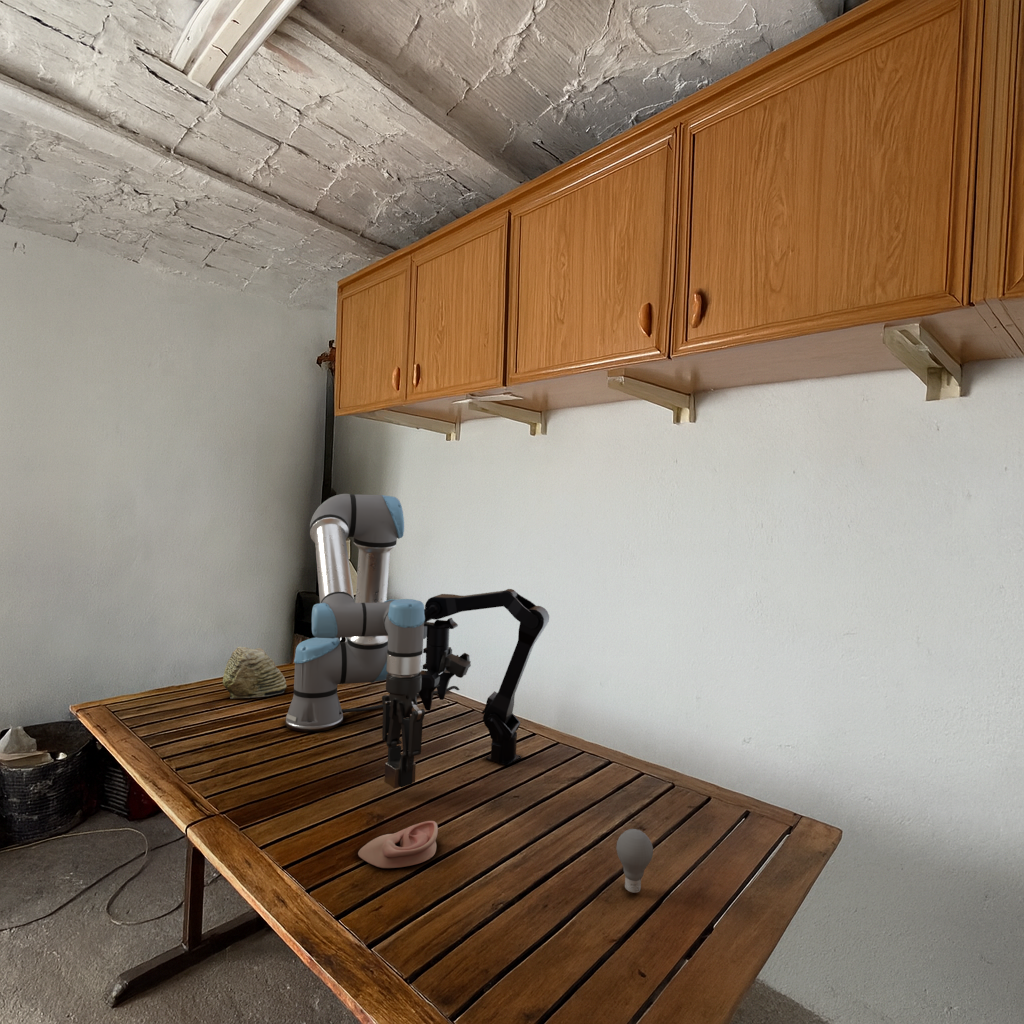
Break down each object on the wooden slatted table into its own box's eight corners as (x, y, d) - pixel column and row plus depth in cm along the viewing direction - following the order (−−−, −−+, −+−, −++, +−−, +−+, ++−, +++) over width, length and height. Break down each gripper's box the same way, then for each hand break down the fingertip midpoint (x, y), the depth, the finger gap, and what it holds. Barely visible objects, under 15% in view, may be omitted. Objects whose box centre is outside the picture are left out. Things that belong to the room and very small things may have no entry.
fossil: (218, 695, 195) (220, 647, 195) (278, 685, 208) (279, 640, 207) (228, 703, 189) (230, 653, 188) (289, 692, 201) (290, 645, 201)
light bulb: (610, 879, 108) (613, 822, 108) (644, 879, 109) (647, 822, 109) (619, 902, 102) (622, 840, 102) (655, 901, 103) (658, 840, 103)
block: (394, 788, 133) (395, 769, 133) (384, 781, 136) (385, 762, 136) (415, 782, 136) (415, 763, 136) (404, 775, 139) (405, 756, 139)
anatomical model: (350, 840, 110) (378, 809, 121) (349, 863, 110) (377, 829, 121) (423, 852, 107) (444, 819, 118) (422, 875, 107) (443, 840, 118)
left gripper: (442, 680, 131) (437, 791, 132) (397, 661, 144) (393, 762, 145) (411, 686, 126) (406, 801, 127) (368, 666, 139) (364, 771, 140)
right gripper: (454, 655, 151) (451, 720, 151) (478, 640, 169) (476, 698, 169) (411, 650, 154) (408, 714, 154) (439, 635, 172) (437, 693, 172)
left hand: (399, 780), depth 136 cm, fingers closed on block, 4 cm apart
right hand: (435, 704), depth 162 cm, fingers open, 9 cm apart
